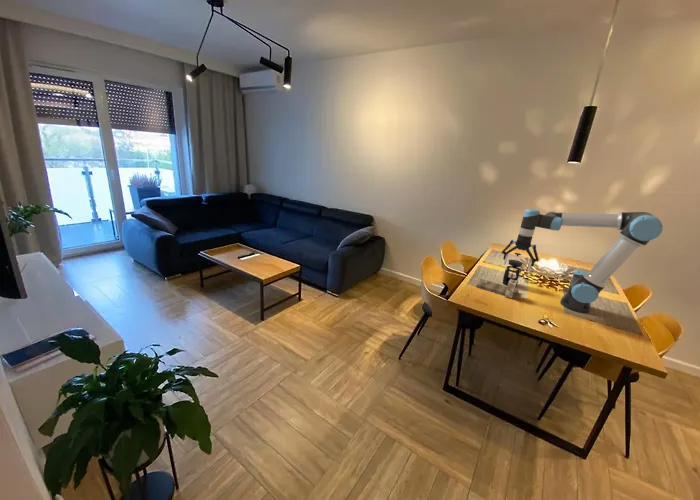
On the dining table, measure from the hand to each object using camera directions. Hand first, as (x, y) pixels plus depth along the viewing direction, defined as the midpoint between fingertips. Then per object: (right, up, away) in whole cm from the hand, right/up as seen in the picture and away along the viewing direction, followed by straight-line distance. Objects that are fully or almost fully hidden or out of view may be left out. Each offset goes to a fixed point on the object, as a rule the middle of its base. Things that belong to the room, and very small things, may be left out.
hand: (516, 267), depth 188 cm
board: (-5, -16, +14) cm, 22 cm away
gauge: (-1, -19, +7) cm, 20 cm away
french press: (+8, -13, +24) cm, 28 cm away
